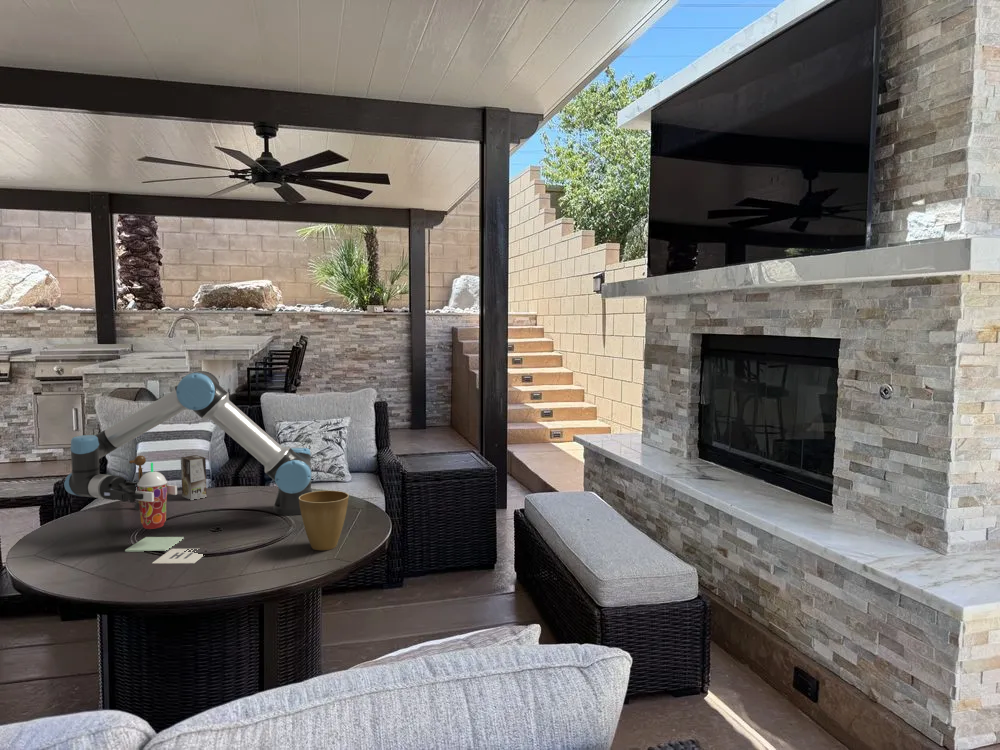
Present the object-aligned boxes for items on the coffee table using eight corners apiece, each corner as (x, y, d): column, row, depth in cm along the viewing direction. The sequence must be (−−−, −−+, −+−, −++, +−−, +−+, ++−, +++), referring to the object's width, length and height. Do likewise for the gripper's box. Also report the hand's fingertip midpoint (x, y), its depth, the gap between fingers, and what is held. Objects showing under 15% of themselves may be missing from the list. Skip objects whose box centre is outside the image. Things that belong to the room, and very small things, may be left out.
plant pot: (331, 557, 194) (330, 504, 193) (289, 551, 199) (288, 499, 198) (358, 541, 208) (358, 492, 206) (319, 536, 213) (318, 488, 212)
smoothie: (145, 522, 208) (143, 460, 206) (173, 522, 208) (171, 459, 207) (133, 530, 199) (131, 465, 198) (161, 530, 200) (160, 465, 198)
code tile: (211, 549, 201) (211, 548, 201) (194, 563, 189) (194, 562, 189) (171, 549, 200) (171, 548, 200) (151, 563, 188) (151, 562, 188)
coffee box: (207, 497, 260) (206, 457, 259) (190, 501, 255) (189, 460, 254) (197, 493, 266) (196, 454, 265) (181, 496, 262) (180, 456, 260)
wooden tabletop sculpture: (133, 511, 241) (130, 457, 239) (129, 508, 244) (127, 455, 243) (150, 508, 245) (148, 455, 243) (147, 505, 248) (145, 453, 247)
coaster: (183, 538, 210) (183, 536, 210) (165, 551, 198) (165, 549, 198) (145, 538, 210) (145, 537, 210) (125, 551, 198) (125, 549, 198)
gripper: (137, 491, 219) (191, 497, 212) (78, 507, 199) (136, 514, 192) (136, 468, 218) (190, 474, 211) (77, 482, 199) (135, 489, 191)
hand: (164, 493), depth 201 cm, fingers closed on smoothie, 8 cm apart
